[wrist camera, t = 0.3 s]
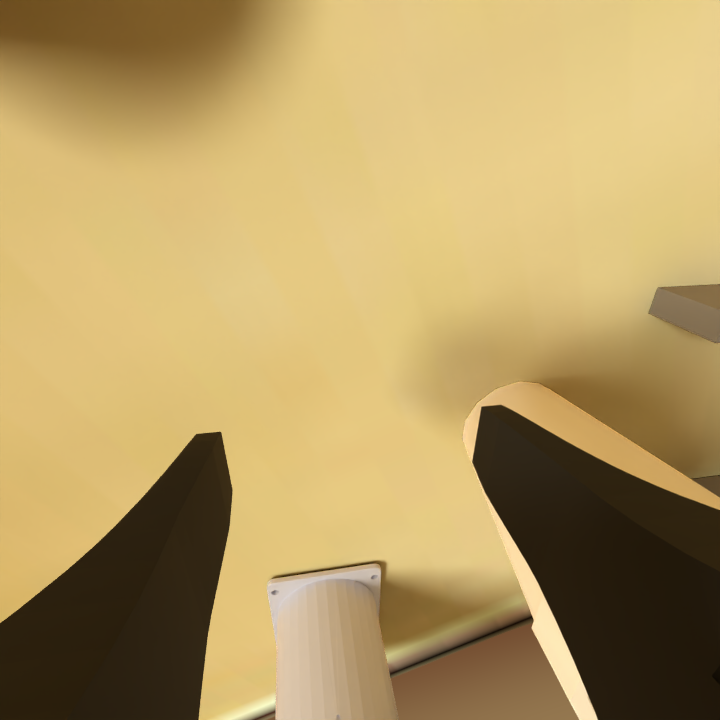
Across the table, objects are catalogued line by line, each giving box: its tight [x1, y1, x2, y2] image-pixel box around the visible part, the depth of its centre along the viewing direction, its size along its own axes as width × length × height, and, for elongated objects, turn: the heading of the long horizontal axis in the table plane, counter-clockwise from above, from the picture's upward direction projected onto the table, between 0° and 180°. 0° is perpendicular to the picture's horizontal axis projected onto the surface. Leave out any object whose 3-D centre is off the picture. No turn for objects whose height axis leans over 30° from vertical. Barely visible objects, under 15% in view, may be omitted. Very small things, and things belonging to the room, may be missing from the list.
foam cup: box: [462, 381, 720, 720], centre depth 19 cm, size 10×9×13 cm
